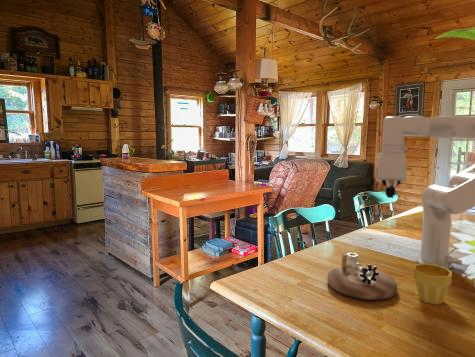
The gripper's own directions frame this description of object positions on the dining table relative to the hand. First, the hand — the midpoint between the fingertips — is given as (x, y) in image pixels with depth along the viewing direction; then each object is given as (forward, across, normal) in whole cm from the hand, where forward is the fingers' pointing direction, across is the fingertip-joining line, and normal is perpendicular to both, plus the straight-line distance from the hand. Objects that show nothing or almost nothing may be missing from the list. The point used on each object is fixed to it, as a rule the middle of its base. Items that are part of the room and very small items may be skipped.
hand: (389, 197), depth 129 cm
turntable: (+26, +13, +23) cm, 37 cm away
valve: (+24, +14, +21) cm, 35 cm away
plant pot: (+27, -7, +28) cm, 39 cm away
